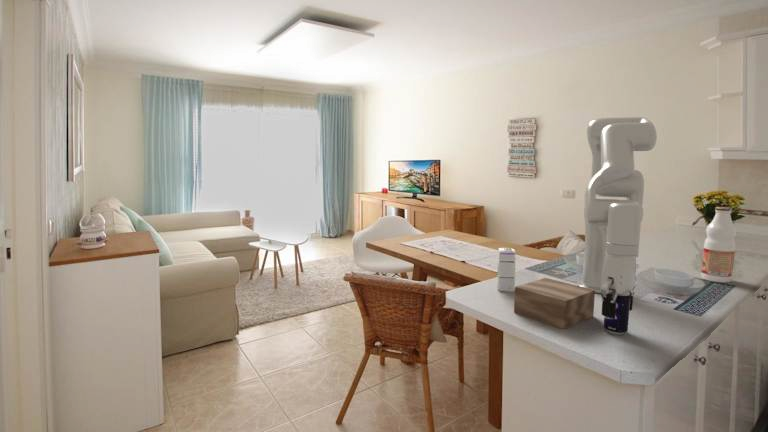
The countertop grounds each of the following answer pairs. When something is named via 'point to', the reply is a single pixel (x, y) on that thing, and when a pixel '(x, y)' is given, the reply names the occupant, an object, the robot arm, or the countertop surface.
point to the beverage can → (619, 315)
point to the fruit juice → (719, 247)
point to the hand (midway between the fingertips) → (617, 312)
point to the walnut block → (554, 302)
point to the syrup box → (506, 269)
